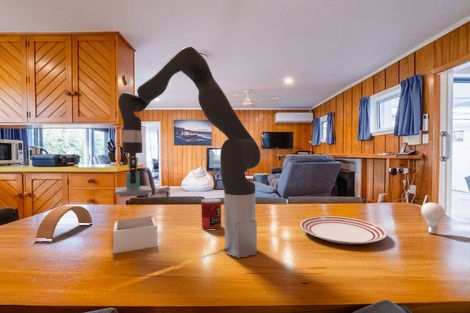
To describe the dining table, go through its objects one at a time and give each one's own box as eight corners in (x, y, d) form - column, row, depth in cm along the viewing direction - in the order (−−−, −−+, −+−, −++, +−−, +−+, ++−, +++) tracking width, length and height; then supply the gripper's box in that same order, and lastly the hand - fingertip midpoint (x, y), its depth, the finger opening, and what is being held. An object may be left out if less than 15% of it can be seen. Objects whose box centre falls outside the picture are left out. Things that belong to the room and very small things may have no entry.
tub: (157, 248, 72) (157, 225, 72) (113, 256, 67) (113, 231, 67) (152, 235, 84) (152, 215, 84) (115, 240, 79) (115, 219, 79)
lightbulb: (449, 237, 78) (449, 204, 78) (427, 236, 80) (427, 204, 80) (437, 231, 85) (436, 201, 85) (417, 230, 86) (416, 200, 86)
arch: (35, 242, 79) (34, 212, 79) (80, 225, 99) (79, 201, 99) (50, 242, 79) (50, 212, 79) (92, 225, 98) (92, 201, 99)
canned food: (212, 231, 87) (211, 202, 87) (197, 228, 92) (197, 200, 92) (225, 226, 93) (225, 199, 93) (210, 223, 98) (210, 197, 98)
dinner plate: (403, 254, 66) (403, 242, 66) (303, 247, 72) (303, 236, 72) (368, 225, 93) (368, 217, 93) (298, 222, 99) (297, 214, 99)
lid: (152, 195, 88) (152, 173, 88) (114, 198, 83) (114, 175, 83) (148, 190, 101) (148, 171, 101) (116, 192, 96) (116, 173, 96)
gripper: (143, 140, 93) (143, 184, 93) (141, 142, 106) (141, 181, 106) (122, 140, 90) (122, 185, 90) (122, 142, 102) (123, 182, 102)
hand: (133, 183), depth 98 cm, fingers closed on lid, 1 cm apart
